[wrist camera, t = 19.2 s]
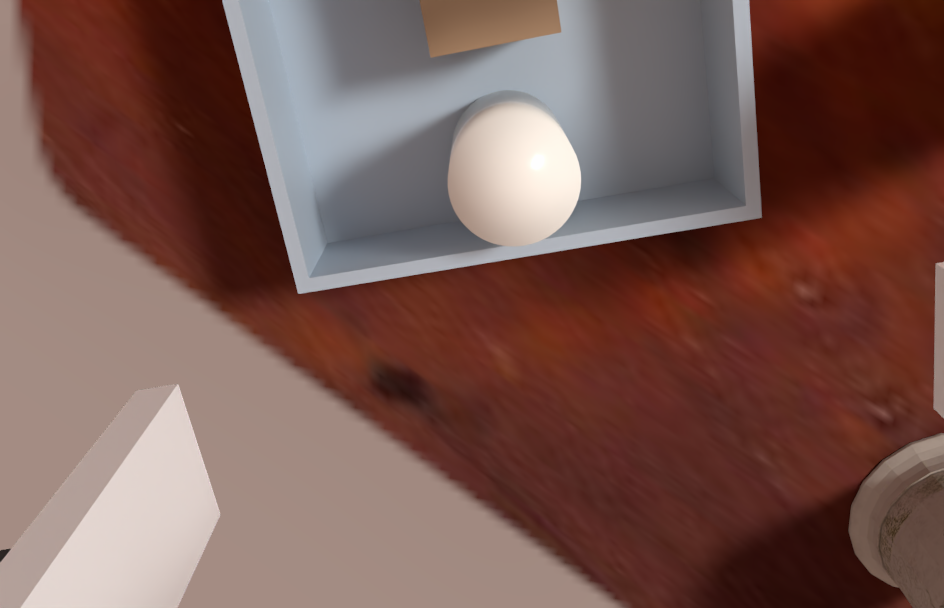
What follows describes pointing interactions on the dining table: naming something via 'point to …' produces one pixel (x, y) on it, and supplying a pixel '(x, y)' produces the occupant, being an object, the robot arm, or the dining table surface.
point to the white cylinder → (512, 170)
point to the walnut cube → (485, 23)
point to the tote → (459, 85)
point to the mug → (904, 521)
